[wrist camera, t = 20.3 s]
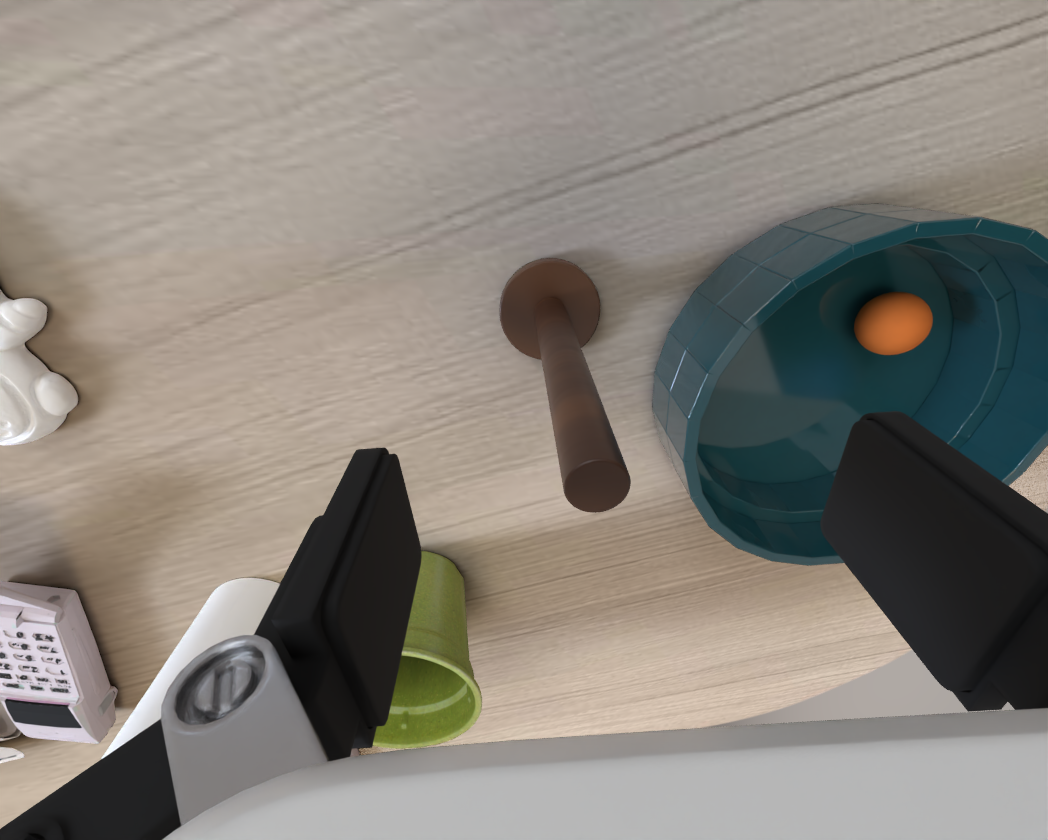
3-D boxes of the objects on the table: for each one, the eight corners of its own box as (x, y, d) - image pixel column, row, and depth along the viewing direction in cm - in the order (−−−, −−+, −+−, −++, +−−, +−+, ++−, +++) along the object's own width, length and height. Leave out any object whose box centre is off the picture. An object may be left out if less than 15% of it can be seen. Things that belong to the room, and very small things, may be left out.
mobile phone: (-39, 575, 24) (78, 809, 36) (59, 501, 29) (133, 726, 41) (-176, 559, 23) (-11, 802, 35) (-50, 486, 28) (57, 719, 40)
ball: (931, 274, 21) (957, 336, 21) (901, 289, 24) (923, 344, 24) (857, 301, 22) (881, 361, 22) (836, 312, 25) (857, 366, 25)
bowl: (661, 218, 22) (709, 238, 17) (1029, 188, 22) (1192, 199, 17) (642, 504, 31) (669, 576, 25) (908, 483, 30) (991, 552, 25)
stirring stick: (497, 259, 23) (485, 397, 10) (600, 256, 23) (720, 388, 10) (502, 356, 25) (497, 567, 12) (595, 352, 25) (686, 559, 12)
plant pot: (464, 635, 36) (453, 760, 29) (340, 608, 35) (294, 735, 27) (505, 550, 32) (505, 672, 25) (368, 515, 30) (322, 635, 23)
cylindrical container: (197, 576, 33) (-430, 1433, 11) (303, 578, 33) (-95, 1408, 11) (223, 643, 36) (-209, 1390, 14) (319, 644, 36) (40, 1372, 15)
